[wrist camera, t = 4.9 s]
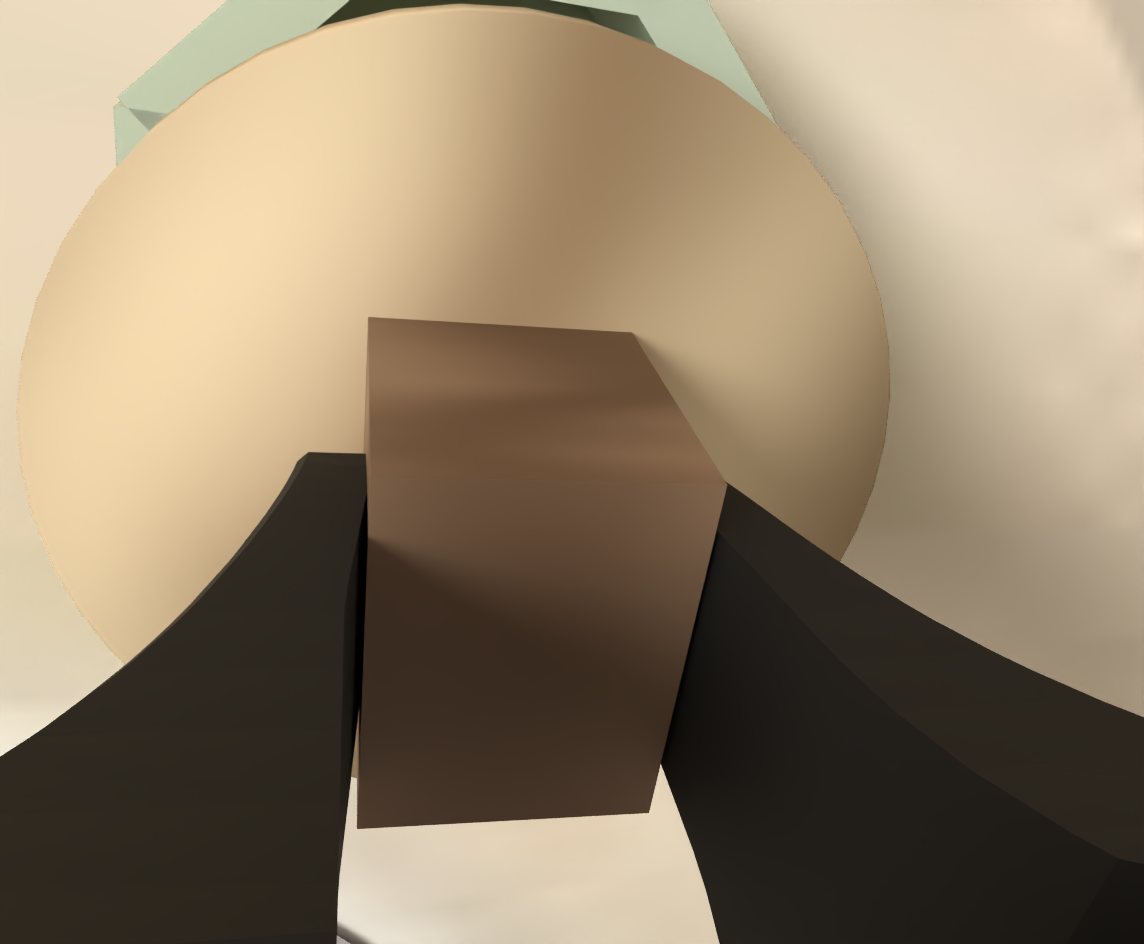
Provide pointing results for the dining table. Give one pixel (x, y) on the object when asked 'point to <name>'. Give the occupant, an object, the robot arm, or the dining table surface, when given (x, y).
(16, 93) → the dining table surface
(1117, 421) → the dining table surface
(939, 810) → the robot arm
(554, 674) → the oak lid
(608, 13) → the green bowl
